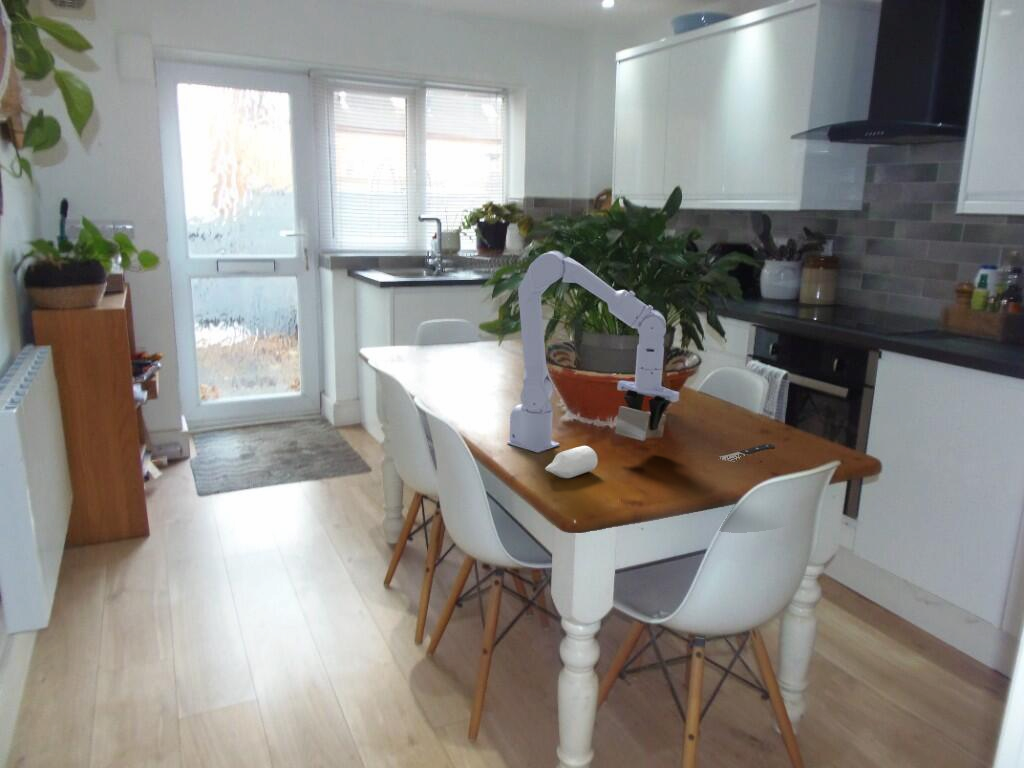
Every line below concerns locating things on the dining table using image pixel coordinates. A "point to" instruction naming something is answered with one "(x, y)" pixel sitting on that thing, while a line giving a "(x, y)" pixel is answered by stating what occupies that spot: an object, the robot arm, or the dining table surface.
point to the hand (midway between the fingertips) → (644, 427)
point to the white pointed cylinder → (573, 462)
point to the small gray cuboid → (637, 424)
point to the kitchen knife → (747, 451)
